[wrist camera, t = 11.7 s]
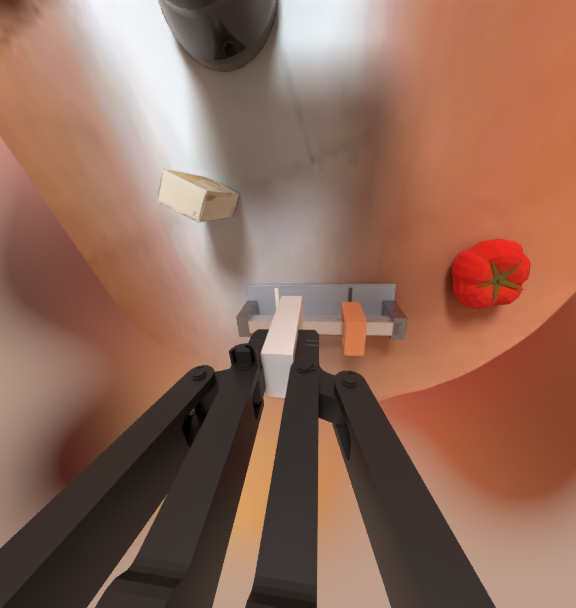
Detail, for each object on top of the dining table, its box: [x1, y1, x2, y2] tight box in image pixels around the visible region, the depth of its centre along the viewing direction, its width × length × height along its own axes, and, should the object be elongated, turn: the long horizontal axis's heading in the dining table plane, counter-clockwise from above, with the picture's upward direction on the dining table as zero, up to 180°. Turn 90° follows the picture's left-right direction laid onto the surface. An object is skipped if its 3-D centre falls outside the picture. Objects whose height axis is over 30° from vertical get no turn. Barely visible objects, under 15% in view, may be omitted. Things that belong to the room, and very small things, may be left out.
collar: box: [341, 302, 367, 356], centre depth 39 cm, size 3×6×8 cm, turn 3°
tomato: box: [451, 239, 530, 309], centre depth 37 cm, size 10×11×6 cm
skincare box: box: [157, 169, 239, 222], centre depth 35 cm, size 6×4×12 cm
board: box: [246, 283, 396, 316], centre depth 46 cm, size 28×10×1 cm, turn 93°
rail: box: [236, 300, 407, 340], centre depth 42 cm, size 28×4×7 cm, turn 93°
